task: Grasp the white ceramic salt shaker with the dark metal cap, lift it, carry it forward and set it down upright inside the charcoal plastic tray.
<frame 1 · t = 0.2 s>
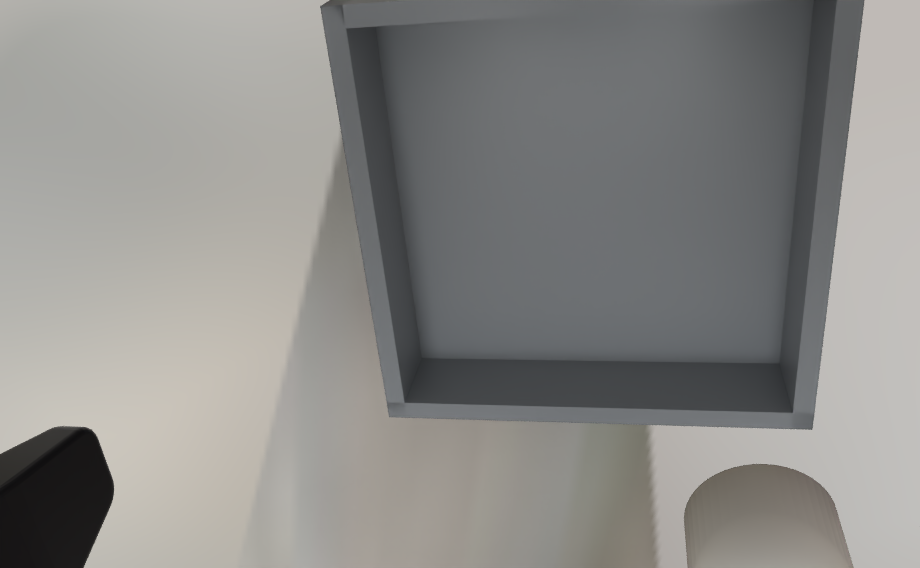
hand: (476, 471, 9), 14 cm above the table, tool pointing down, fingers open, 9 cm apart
shaker: (759, 521, 27), on the table
tray: (589, 185, 22), on the table
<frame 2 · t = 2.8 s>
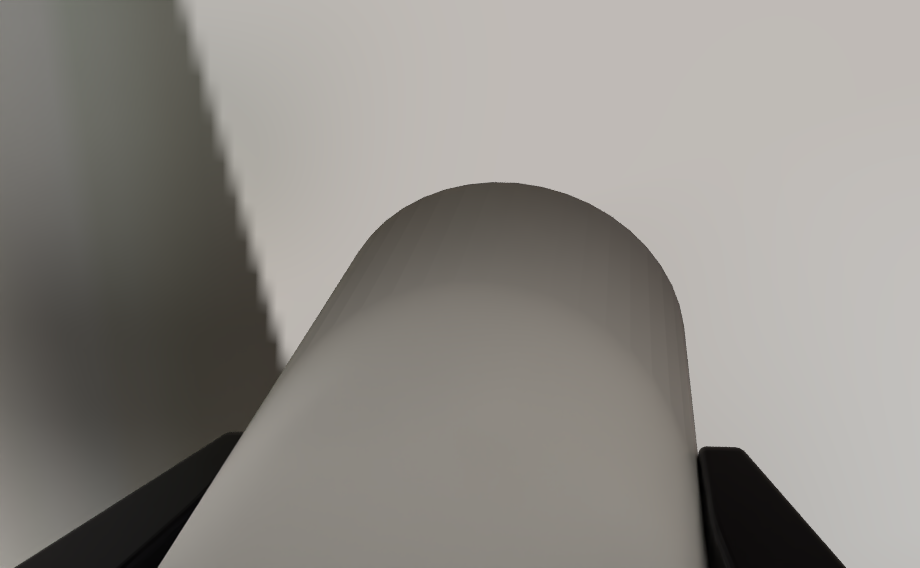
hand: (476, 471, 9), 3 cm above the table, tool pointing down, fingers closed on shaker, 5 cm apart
shaker: (506, 344, 11), on the table, touching gripper
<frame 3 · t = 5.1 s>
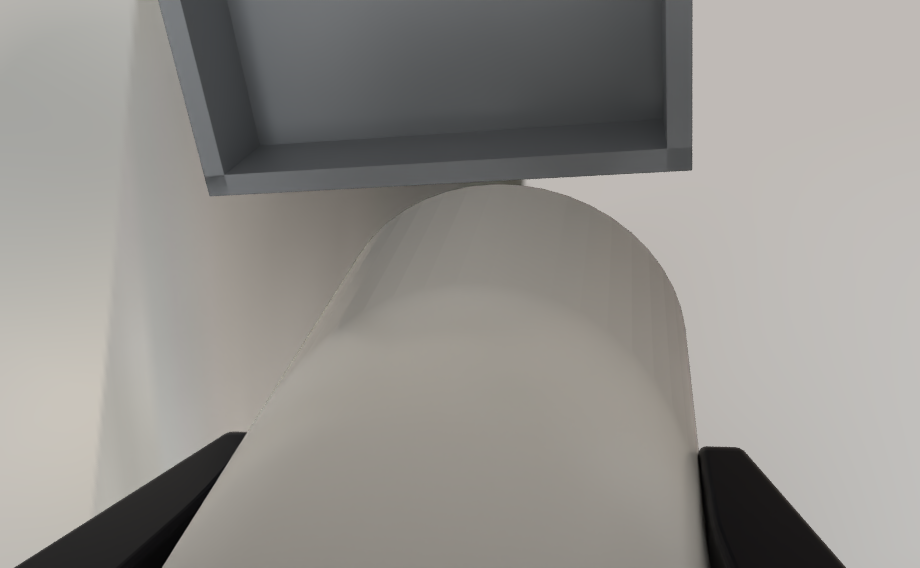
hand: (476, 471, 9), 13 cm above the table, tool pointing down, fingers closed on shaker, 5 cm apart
shaker: (507, 346, 11), point 11 cm above the table, touching gripper
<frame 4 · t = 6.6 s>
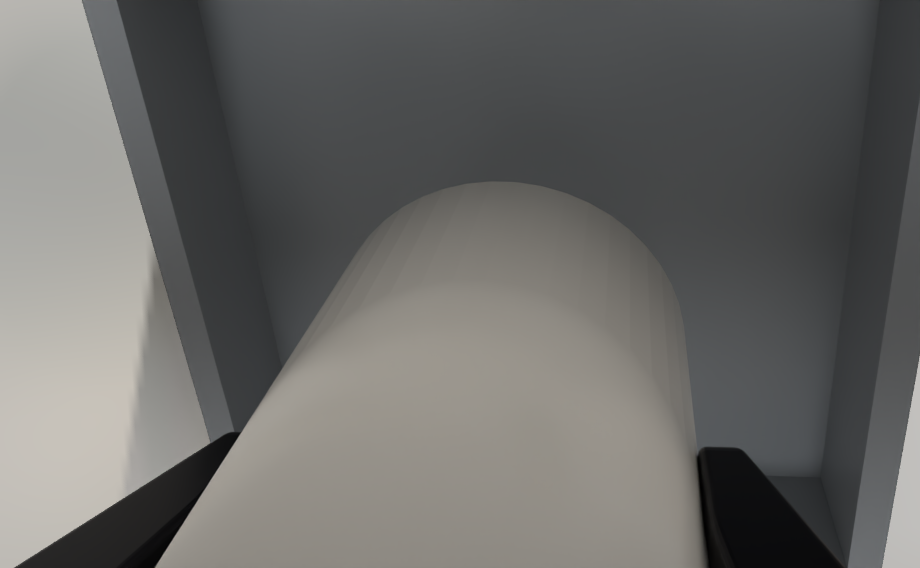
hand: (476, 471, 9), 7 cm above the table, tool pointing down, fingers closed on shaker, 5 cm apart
shaker: (505, 344, 11), point 4 cm above the table, touching gripper
tray: (535, 213, 15), on the table
when the fingers open (5 cm above the table, at t = 7.7 s): shaker drops 2 cm, resting on tray.
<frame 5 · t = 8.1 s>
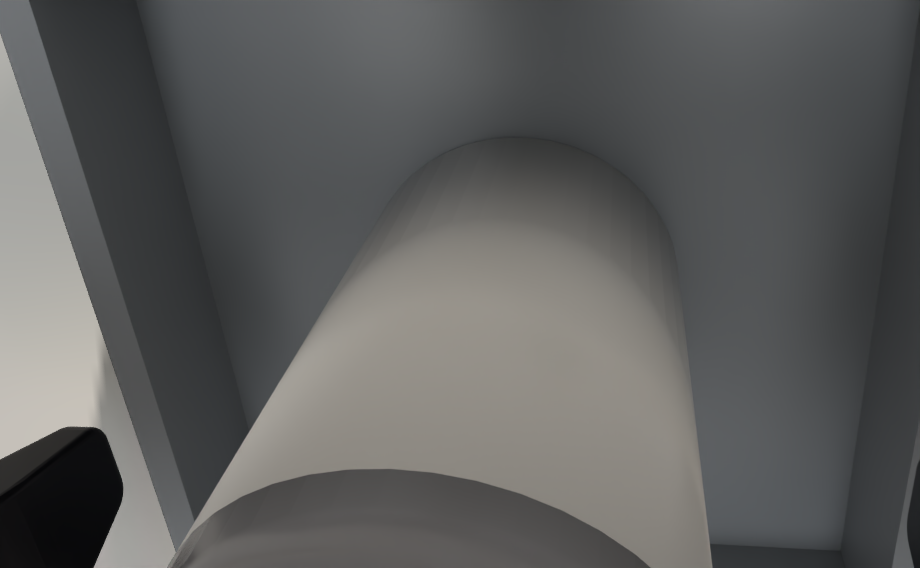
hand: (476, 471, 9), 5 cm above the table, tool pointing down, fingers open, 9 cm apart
shaker: (519, 285, 13), point 1 cm above the table, touching tray
tray: (525, 260, 13), on the table
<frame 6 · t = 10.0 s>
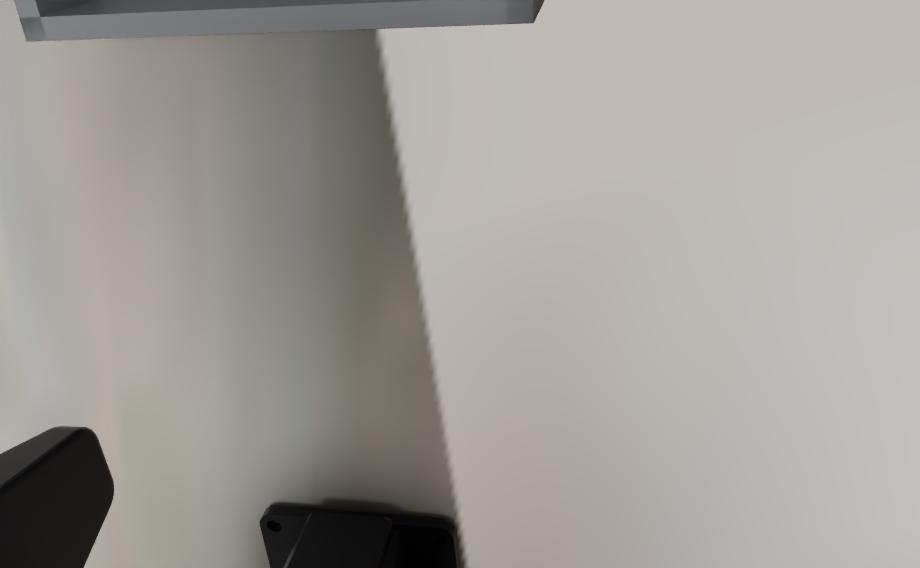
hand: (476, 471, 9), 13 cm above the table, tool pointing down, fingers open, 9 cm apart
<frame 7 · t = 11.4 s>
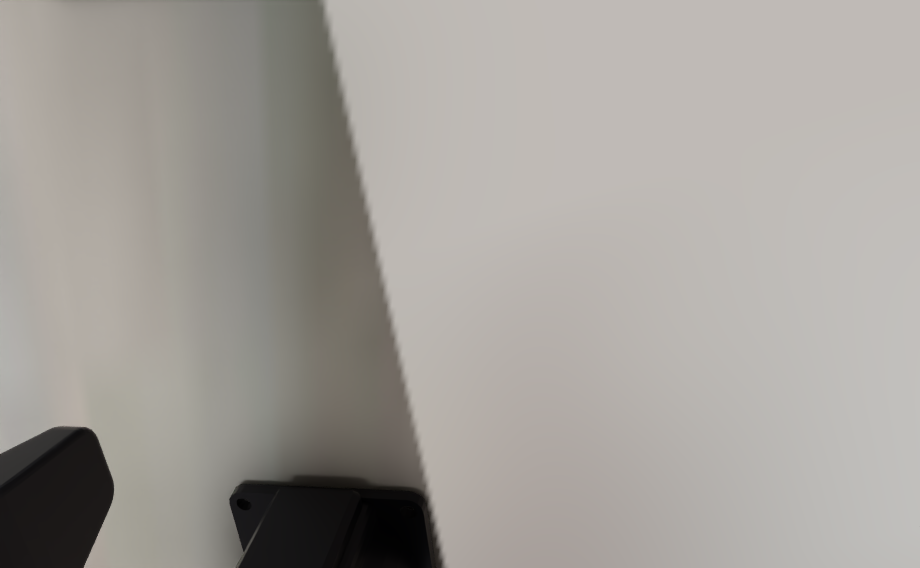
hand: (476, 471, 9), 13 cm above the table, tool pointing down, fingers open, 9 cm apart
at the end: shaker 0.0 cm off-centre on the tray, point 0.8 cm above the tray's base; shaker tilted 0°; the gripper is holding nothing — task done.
